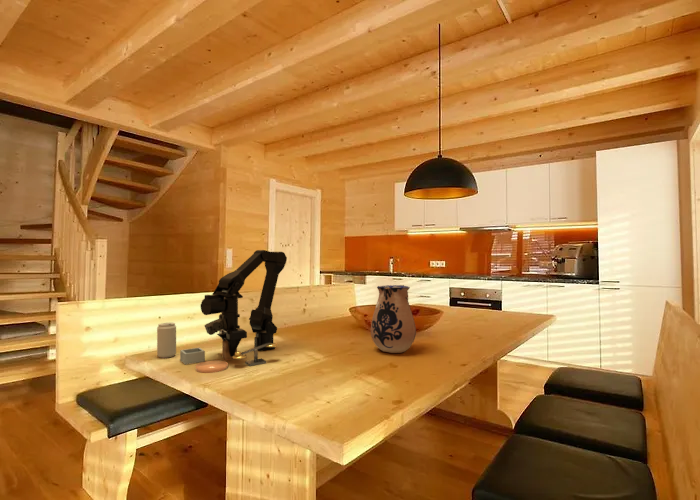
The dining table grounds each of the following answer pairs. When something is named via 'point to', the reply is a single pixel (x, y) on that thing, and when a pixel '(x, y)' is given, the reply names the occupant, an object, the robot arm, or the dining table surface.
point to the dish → (211, 366)
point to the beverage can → (166, 340)
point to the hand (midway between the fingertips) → (229, 354)
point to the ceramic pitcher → (393, 320)
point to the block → (226, 351)
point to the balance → (256, 361)
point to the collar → (192, 355)
